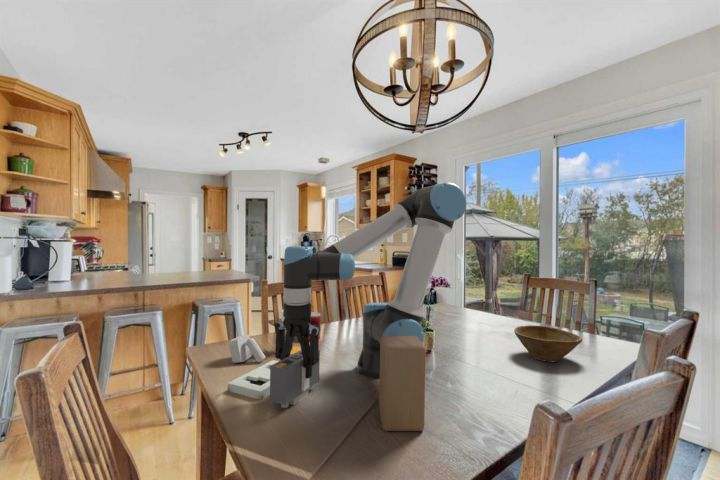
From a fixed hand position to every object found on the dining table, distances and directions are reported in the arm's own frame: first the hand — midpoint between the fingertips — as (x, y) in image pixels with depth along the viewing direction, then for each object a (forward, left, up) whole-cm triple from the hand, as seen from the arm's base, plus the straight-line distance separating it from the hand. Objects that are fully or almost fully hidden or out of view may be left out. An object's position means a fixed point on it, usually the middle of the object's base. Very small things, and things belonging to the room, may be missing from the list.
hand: (296, 386), depth 93 cm
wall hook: (+32, -17, -4) cm, 36 cm away
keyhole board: (+14, -5, -4) cm, 15 cm away
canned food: (+27, -50, -4) cm, 57 cm away
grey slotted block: (0, 0, -3) cm, 3 cm away
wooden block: (-29, -3, -4) cm, 29 cm away
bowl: (-66, -70, -4) cm, 96 cm away
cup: (+25, -33, -4) cm, 42 cm away
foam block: (0, 0, -4) cm, 4 cm away
